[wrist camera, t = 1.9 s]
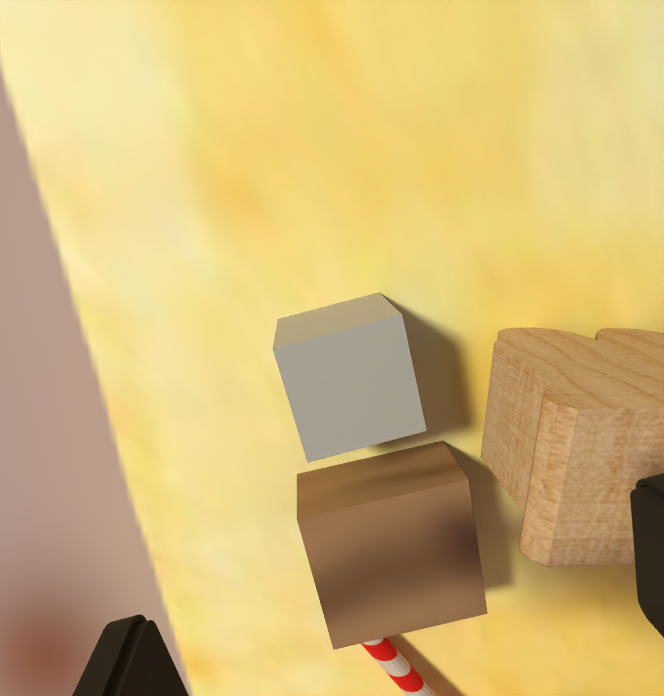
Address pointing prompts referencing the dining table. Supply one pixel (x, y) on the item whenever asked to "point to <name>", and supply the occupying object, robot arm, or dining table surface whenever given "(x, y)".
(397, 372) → the slate brick
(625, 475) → the toy train
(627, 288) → the dining table surface
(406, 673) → the toy hammer
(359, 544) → the walnut block
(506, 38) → the dining table surface
